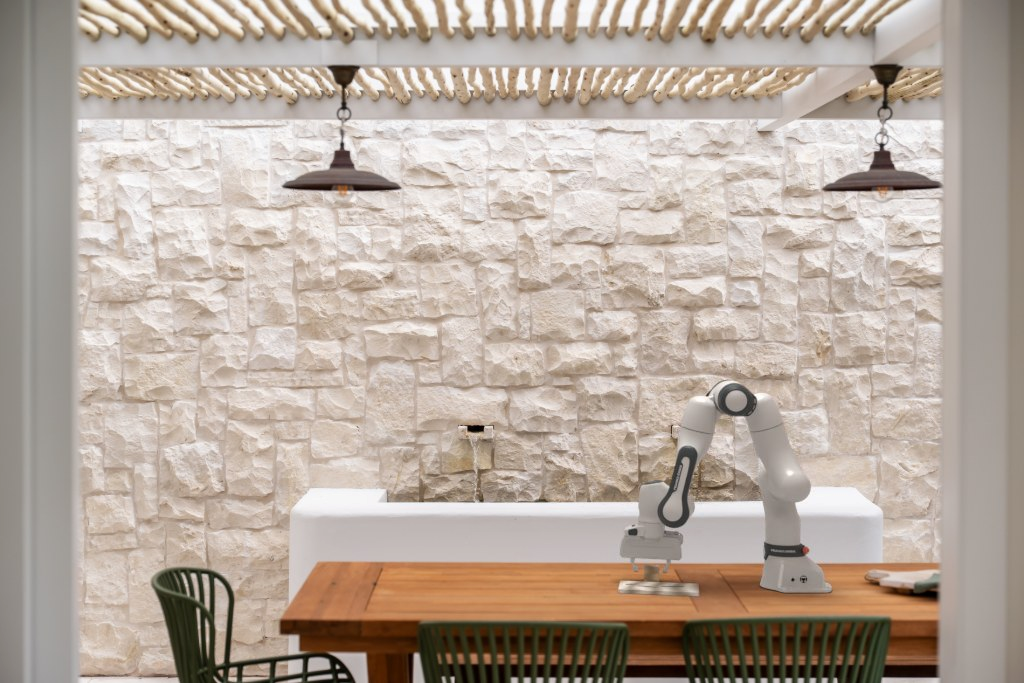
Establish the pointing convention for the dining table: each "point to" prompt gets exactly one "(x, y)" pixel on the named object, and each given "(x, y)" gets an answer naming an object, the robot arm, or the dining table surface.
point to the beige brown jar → (651, 573)
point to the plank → (658, 588)
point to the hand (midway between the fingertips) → (650, 572)
